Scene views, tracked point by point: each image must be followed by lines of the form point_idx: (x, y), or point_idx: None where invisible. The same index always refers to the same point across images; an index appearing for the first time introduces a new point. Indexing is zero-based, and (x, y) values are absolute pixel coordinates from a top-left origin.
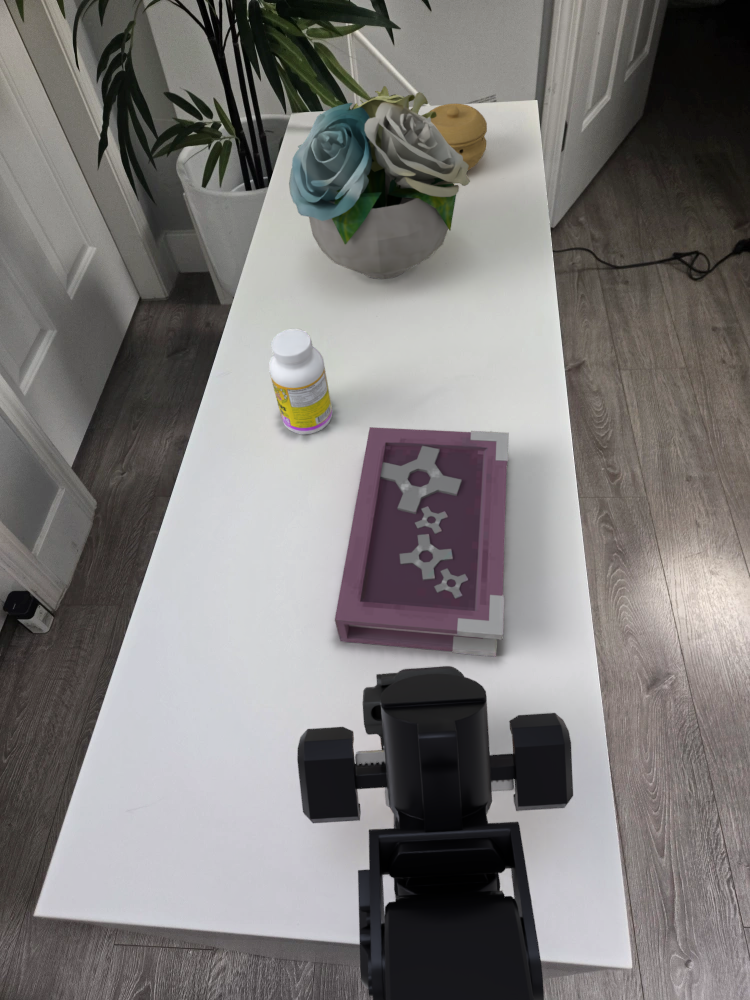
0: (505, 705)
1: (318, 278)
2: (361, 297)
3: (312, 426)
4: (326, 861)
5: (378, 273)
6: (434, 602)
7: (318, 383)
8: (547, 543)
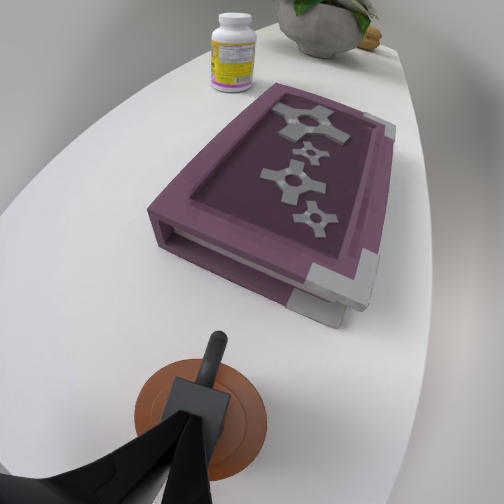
0: (327, 392)
1: (273, 47)
2: (296, 57)
3: (230, 84)
4: (57, 461)
5: (312, 43)
6: (286, 232)
7: (245, 47)
8: (410, 229)
